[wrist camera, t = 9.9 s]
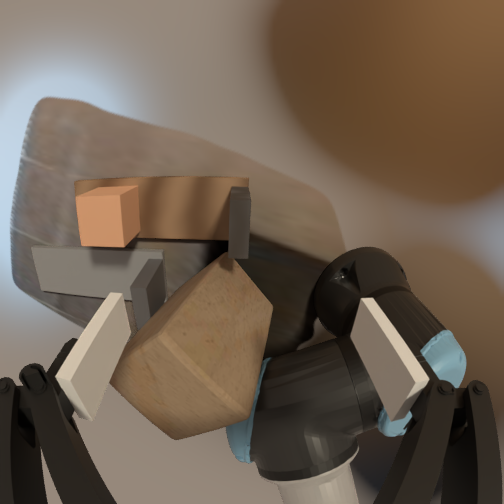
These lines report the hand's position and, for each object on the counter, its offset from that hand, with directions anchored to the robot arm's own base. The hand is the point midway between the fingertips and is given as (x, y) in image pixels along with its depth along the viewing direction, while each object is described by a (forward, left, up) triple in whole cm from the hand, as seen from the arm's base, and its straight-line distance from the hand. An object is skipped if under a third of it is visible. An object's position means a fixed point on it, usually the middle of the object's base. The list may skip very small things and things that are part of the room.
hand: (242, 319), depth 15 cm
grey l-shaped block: (+22, +10, -23) cm, 33 cm away
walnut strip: (+11, 0, -23) cm, 26 cm away
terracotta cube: (+16, 0, -22) cm, 27 cm away
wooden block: (+2, +12, -22) cm, 25 cm away
